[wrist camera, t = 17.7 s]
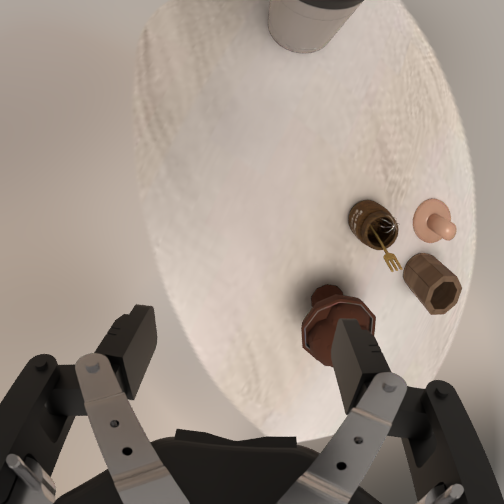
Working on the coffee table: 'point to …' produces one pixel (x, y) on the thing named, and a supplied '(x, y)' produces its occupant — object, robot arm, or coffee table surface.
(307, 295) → the coffee table surface
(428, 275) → the canister
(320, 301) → the ice cream bowl
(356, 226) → the utensil holder
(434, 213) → the lid
